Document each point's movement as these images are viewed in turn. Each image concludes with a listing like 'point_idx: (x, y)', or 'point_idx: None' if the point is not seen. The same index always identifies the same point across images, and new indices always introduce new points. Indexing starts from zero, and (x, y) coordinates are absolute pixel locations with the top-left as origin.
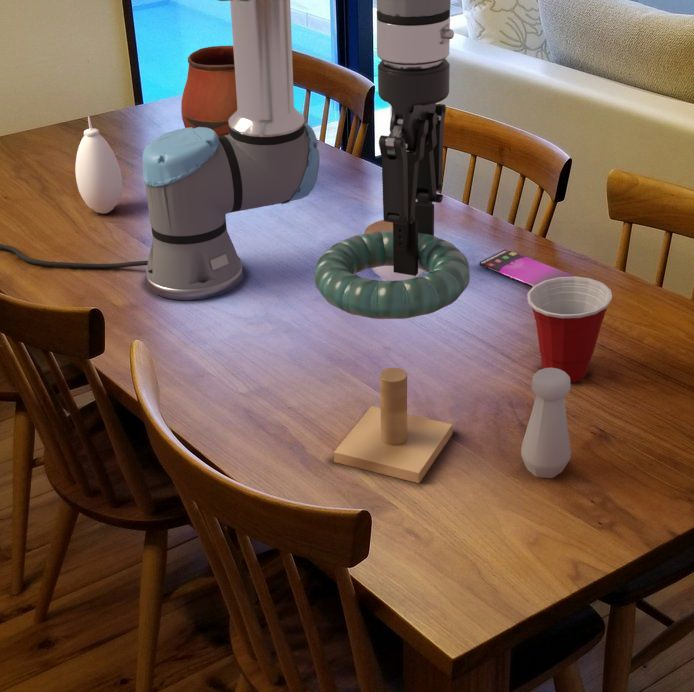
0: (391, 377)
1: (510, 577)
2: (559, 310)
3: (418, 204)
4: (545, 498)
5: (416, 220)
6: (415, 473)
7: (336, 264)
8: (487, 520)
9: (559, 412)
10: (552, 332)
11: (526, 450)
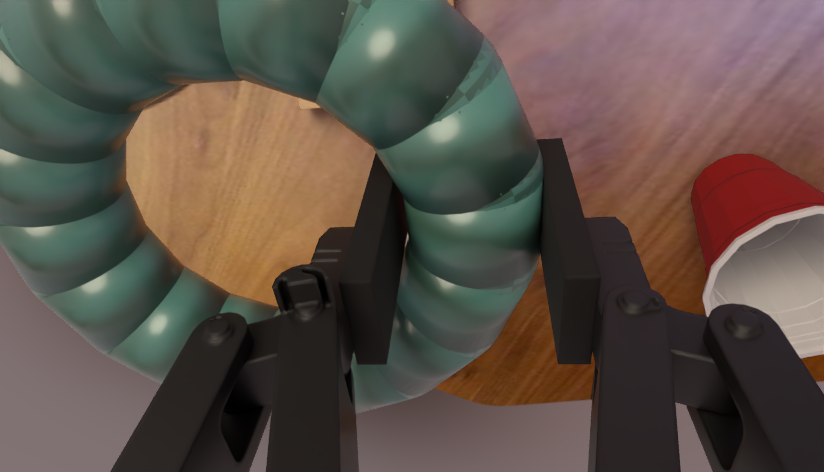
0: None
1: (218, 263)
2: None
3: (564, 313)
4: None
5: (378, 361)
6: (299, 102)
7: (36, 103)
8: (291, 212)
9: None
10: (711, 244)
11: (405, 246)
